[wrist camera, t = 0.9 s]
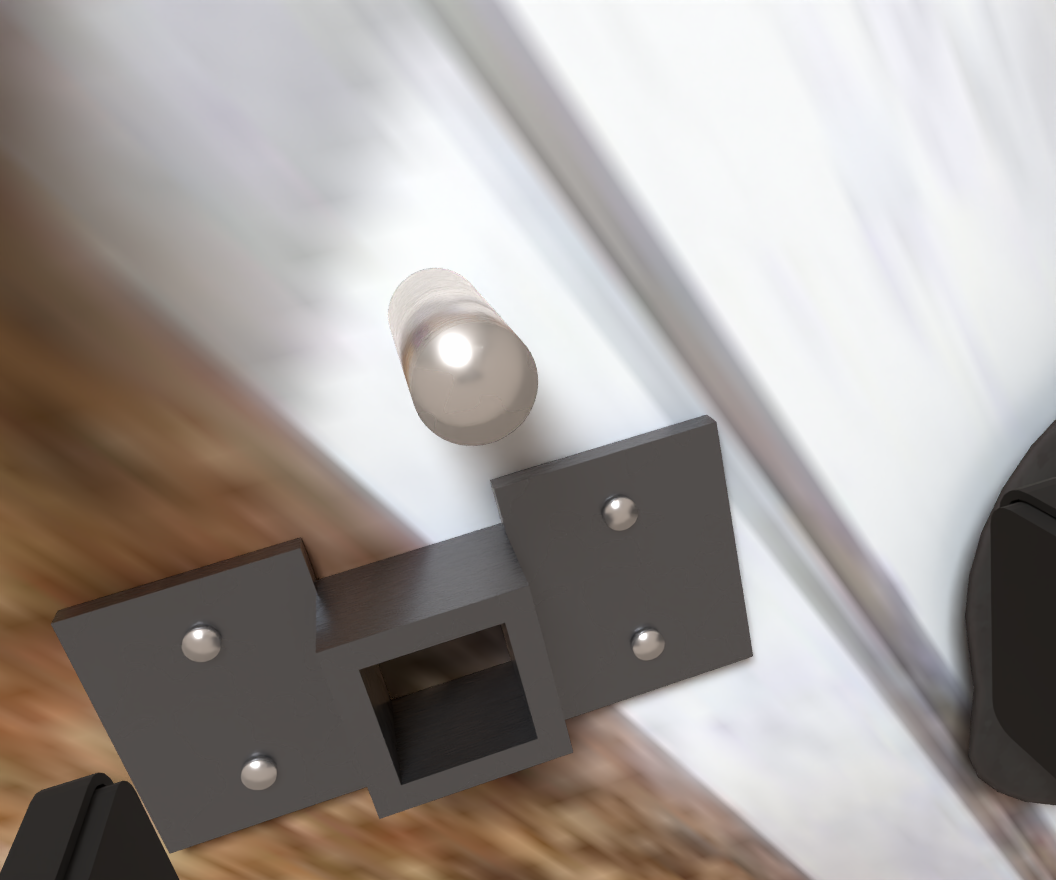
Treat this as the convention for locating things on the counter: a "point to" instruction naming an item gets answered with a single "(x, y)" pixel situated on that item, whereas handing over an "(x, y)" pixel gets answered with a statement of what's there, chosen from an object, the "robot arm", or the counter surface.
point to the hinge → (417, 643)
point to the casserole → (989, 742)
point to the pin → (460, 359)
